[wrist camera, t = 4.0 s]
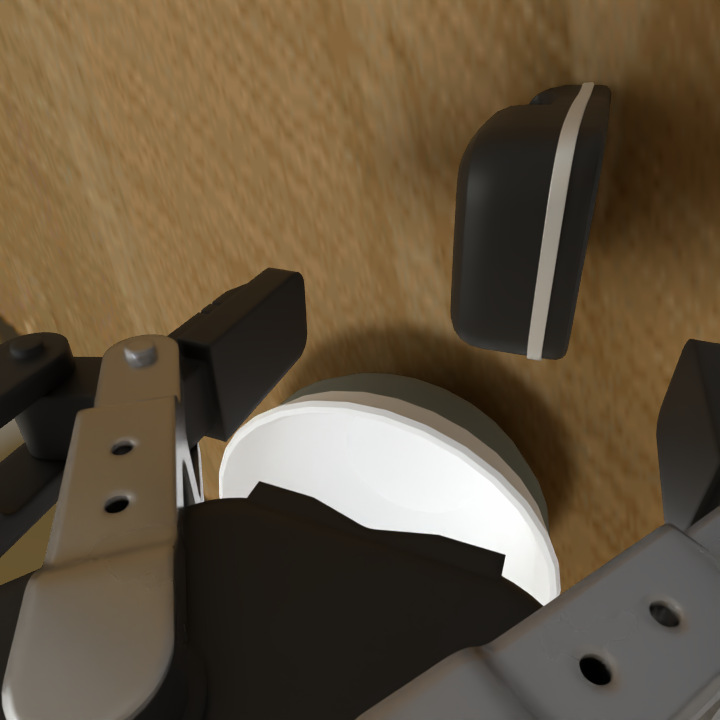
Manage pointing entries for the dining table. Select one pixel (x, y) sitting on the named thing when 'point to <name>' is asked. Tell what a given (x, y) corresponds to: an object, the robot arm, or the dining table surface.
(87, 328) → the dining table surface
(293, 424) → the bowl
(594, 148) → the battery charger
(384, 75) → the dining table surface
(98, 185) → the dining table surface
